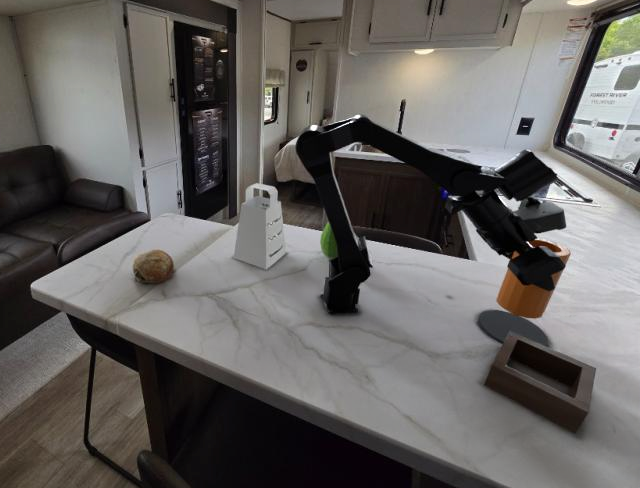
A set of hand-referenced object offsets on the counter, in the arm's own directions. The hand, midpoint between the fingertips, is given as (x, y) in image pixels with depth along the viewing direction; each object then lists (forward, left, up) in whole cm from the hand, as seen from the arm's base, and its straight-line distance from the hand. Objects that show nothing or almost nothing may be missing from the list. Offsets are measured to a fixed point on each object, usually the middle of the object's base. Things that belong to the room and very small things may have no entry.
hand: (540, 278), depth 62 cm
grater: (-46, +34, -13) cm, 59 cm away
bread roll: (-74, +28, -13) cm, 80 cm away
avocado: (-26, +31, -6) cm, 41 cm away
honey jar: (-2, 0, -7) cm, 7 cm away
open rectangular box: (-8, -12, -12) cm, 19 cm away
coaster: (-1, 0, -12) cm, 12 cm away
